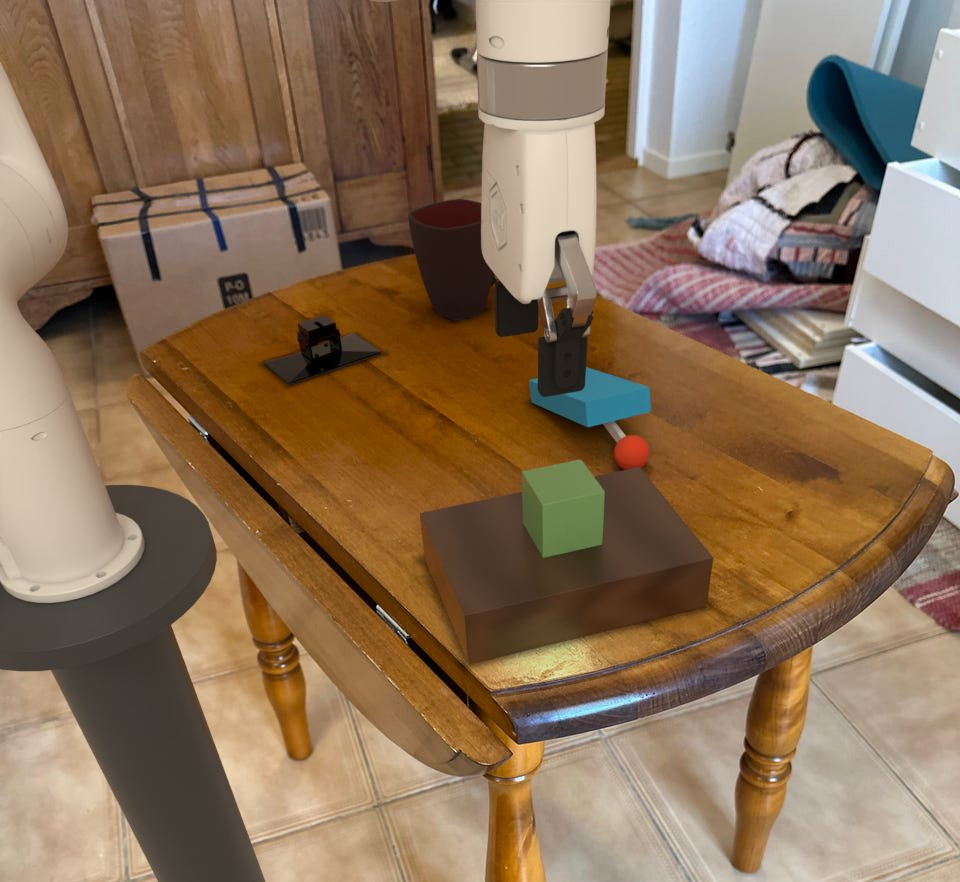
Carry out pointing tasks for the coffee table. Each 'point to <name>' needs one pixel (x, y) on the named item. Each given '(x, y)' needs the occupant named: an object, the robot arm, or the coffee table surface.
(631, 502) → the block
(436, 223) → the cup
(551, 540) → the green toy block
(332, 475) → the coffee table surface
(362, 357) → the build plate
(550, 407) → the lever
